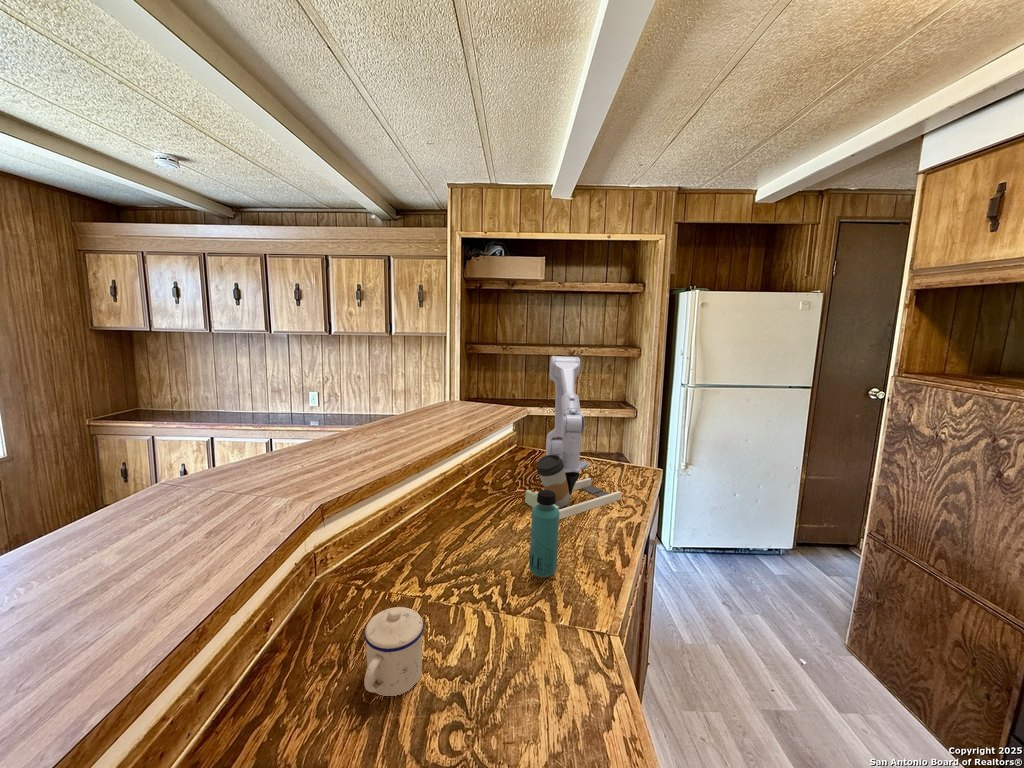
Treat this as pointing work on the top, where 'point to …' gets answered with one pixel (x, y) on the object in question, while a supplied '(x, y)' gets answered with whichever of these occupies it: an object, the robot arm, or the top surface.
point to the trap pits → (595, 491)
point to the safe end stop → (533, 499)
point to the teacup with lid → (393, 651)
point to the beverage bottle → (544, 535)
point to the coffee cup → (554, 478)
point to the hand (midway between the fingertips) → (568, 494)
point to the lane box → (587, 504)
